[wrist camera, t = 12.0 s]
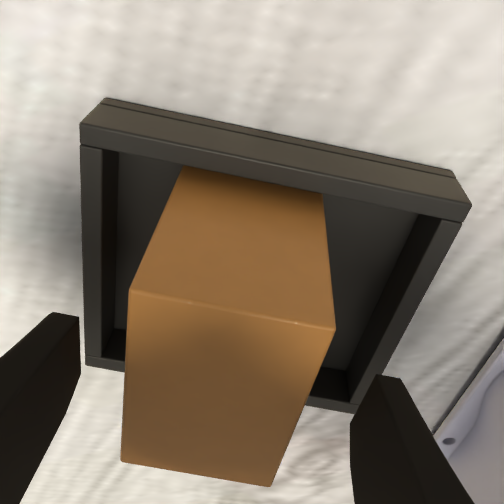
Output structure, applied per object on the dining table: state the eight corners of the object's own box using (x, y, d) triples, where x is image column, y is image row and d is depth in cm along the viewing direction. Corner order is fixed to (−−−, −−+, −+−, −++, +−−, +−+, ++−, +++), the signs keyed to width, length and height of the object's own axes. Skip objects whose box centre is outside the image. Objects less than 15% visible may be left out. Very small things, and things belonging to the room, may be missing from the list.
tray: (354, 373, 19) (359, 416, 18) (102, 326, 19) (84, 366, 17) (453, 170, 14) (473, 205, 12) (104, 96, 13) (78, 122, 12)
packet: (322, 182, 14) (337, 329, 9) (277, 327, 17) (271, 489, 12) (187, 154, 14) (127, 289, 9) (168, 306, 17) (119, 462, 12)
